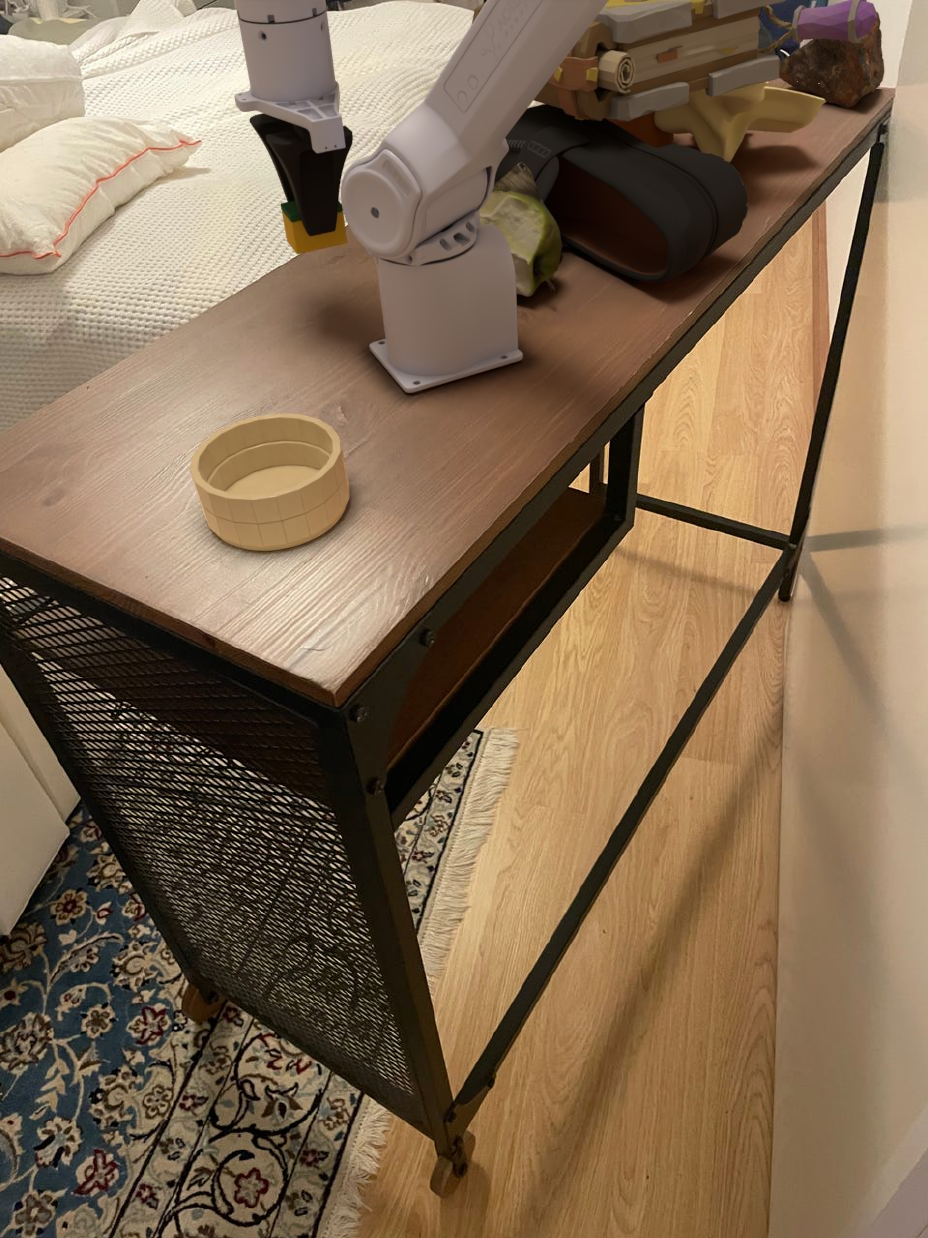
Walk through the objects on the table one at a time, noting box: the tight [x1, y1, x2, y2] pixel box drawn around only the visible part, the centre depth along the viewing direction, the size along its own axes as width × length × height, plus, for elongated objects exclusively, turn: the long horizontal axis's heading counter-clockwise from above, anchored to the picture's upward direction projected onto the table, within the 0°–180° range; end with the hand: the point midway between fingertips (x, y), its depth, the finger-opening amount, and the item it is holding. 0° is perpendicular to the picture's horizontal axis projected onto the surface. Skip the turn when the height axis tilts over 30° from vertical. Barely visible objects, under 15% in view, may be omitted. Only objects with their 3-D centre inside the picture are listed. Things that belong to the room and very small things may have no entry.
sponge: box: [280, 201, 348, 255], centre depth 70 cm, size 4×3×3 cm, turn 114°
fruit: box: [479, 162, 562, 298], centre depth 77 cm, size 9×9×8 cm
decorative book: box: [471, 0, 877, 121], centre depth 80 cm, size 25×27×11 cm
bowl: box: [189, 412, 351, 552], centre depth 58 cm, size 9×9×4 cm
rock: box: [778, 11, 885, 109], centre depth 106 cm, size 14×12×10 cm
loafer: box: [494, 103, 749, 284], centre depth 81 cm, size 10×28×12 cm
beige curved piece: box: [654, 81, 828, 163], centre depth 95 cm, size 22×19×6 cm
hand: (314, 223), depth 70 cm, fingers closed on sponge, 2 cm apart
